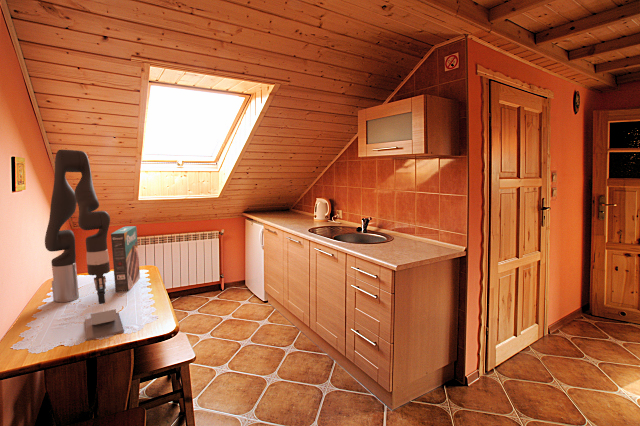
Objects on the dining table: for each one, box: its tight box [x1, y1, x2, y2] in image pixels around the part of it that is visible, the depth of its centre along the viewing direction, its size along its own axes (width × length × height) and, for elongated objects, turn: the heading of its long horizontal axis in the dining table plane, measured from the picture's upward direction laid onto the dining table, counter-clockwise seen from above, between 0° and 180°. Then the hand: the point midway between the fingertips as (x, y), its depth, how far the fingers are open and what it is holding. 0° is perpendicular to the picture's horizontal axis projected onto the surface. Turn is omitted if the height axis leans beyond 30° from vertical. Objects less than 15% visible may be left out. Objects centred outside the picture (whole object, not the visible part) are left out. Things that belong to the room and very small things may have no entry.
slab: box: [90, 308, 117, 325], centre depth 138 cm, size 8×4×11 cm
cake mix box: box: [110, 225, 141, 293], centre depth 188 cm, size 22×6×30 cm, turn 13°
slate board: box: [84, 312, 125, 342], centre depth 140 cm, size 20×12×1 cm, turn 35°
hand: (101, 303), depth 142 cm, fingers closed
